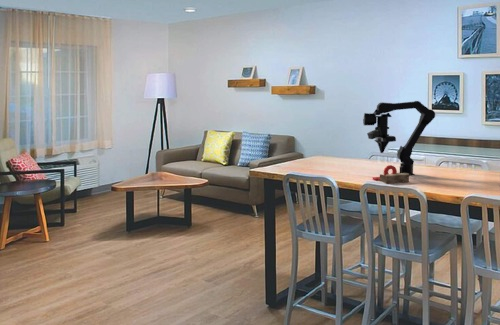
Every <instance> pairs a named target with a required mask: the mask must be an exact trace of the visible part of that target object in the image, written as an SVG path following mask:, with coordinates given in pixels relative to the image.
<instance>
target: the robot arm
mask: <svg viewBox="0 0 500 325" xmlns="http://www.w3.org/2000/svg"><path fill="white" fill-rule="evenodd" d="M410 109H411V110H412V109H415V110H416V111H417V112H418V113H419V114H420V116H419V120H418V123H417V125H416V126H415V128H414V130H413V132H412V134H411V135H410V137H409V138H408V139H407V141H406V144H405V145H403V146H402V145H400V147H399V149H397V152H396V153H397V154H396V157H397V159H398V160H399V161H400V166H399V173H400V174H401V173H409V176H413V175H415V173H414V163H415V161H414V159H413V158H411V156H412V153H413V149H414V147H415V146H416V143H417V142H418V140H419V139H420V137H421V135H422V133H423V132H424V130H425V129H426V127H427V126H428V125H429V124H431V122H432V121H433V120H434V119H435V117H436V112H435V111H434V110H433V109H431V108H428V107H427V106H426V105H424V104H423V103H422V102H421V101H419V100H414V101H405V102H396V103H395V102H394V103H393V102H382V101H381V102H378V104H377V105H376V108H375V109H374V112H372V113H371V112H370V113H367V112H364V113H363V118H362V122H363V126H375V125H376V126H375V127H374V129H373V130H371V131H369V132H367V138H368V139H369V140H374V142H375V143H377V146H378V148H379V152H380V154H383V153H384V151H385V150H386V147H387V146H388V144H389V143H391V142H396V141H397V137H396V136H394V135H390V134H389V133H388V131H389V129H390V126H388V124H389V123H388V122H389V118H392V115H391V114H390V112H394V111H399V110H410Z"/></svg>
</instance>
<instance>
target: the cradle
mask: <svg viewBox="0 0 500 325" xmlns="http://www.w3.org/2000/svg"><path fill="white" fill-rule="evenodd" d="M379 177H380V180H379V182H381V183H384V184H386V185H391V184H392V185H393V184H402V183H409V181H410V180H409V178H410V175H409V173H401V174H400V172H397V173H396V174H391V173H389V175H386V176H385V175H384V174H383V173H382V174H379Z"/></svg>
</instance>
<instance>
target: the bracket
mask: <svg viewBox="0 0 500 325" xmlns="http://www.w3.org/2000/svg"><path fill="white" fill-rule="evenodd" d="M390 170H391V173H389V171H390ZM396 173H398V172H397V168H396V167H395V165H390V164H388V165H386V166H385V167H384V170H383V175H385V176H386V175H389V174H396ZM372 180H373V181H374V182H375V181H377V182H378V181H379V182H380V176H372Z"/></svg>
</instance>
